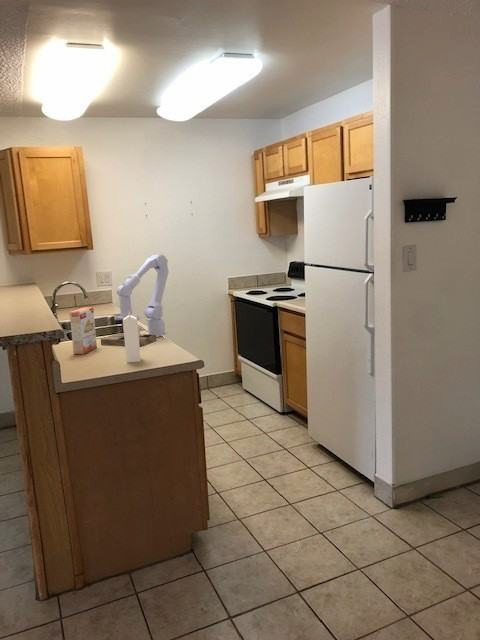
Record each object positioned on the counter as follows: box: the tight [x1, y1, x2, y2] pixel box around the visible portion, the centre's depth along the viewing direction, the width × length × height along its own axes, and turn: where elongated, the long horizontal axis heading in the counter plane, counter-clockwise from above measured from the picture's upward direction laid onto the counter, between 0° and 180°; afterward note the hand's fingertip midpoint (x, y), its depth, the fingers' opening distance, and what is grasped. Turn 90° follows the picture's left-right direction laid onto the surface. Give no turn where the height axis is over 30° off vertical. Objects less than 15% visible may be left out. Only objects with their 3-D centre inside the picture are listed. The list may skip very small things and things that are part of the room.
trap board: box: [100, 332, 157, 348], centre depth 276 cm, size 15×24×3 cm, turn 66°
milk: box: [122, 311, 142, 363], centre depth 236 cm, size 6×6×22 cm
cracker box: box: [69, 306, 98, 355], centre depth 261 cm, size 14×6×21 cm, turn 168°
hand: (128, 333), depth 280 cm, fingers closed
